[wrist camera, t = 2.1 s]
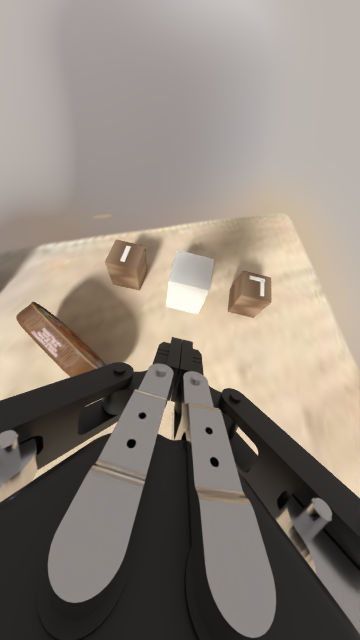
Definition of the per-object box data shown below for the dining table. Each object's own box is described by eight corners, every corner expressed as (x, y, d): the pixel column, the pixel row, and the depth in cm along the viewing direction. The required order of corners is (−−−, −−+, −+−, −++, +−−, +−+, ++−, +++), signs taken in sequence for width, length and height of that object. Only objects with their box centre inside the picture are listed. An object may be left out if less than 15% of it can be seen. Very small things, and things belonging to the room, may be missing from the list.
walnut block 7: (227, 311, 35) (241, 294, 29) (230, 289, 37) (243, 269, 31) (253, 317, 35) (272, 301, 29) (254, 295, 37) (271, 276, 31)
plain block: (165, 306, 33) (168, 280, 26) (172, 280, 36) (177, 249, 29) (197, 314, 34) (209, 290, 26) (202, 287, 36) (214, 259, 29)
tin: (121, 379, 28) (108, 371, 20) (104, 396, 26) (83, 394, 19) (57, 316, 30) (24, 288, 23) (39, 329, 29) (-2, 304, 21)
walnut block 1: (113, 284, 34) (104, 261, 28) (122, 262, 36) (116, 237, 31) (139, 290, 34) (136, 268, 29) (147, 268, 36) (145, 244, 31)
